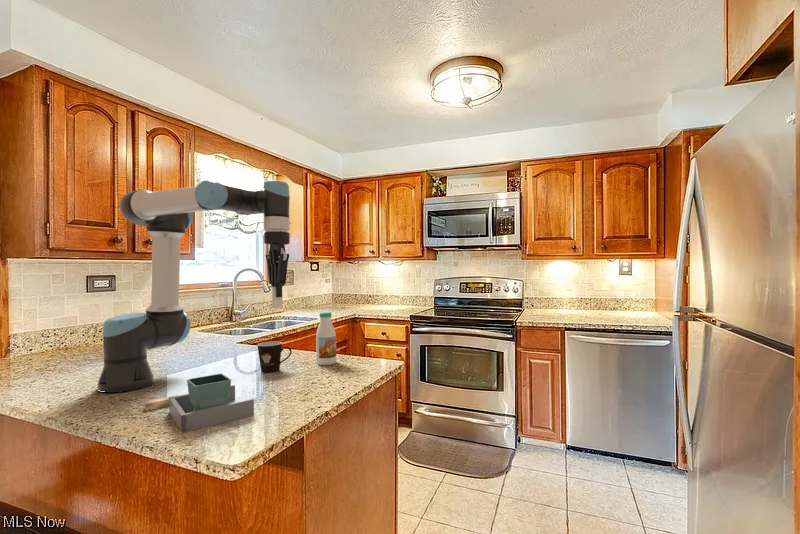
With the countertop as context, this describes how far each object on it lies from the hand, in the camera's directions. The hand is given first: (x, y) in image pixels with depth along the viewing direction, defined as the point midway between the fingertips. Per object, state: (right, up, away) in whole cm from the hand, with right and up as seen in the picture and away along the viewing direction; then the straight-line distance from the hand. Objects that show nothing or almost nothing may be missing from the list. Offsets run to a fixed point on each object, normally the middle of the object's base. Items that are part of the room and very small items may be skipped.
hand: (277, 307), depth 122 cm
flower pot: (-12, -26, -19) cm, 34 cm away
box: (-11, -26, -19) cm, 34 cm away
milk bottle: (+9, -26, +33) cm, 42 cm away
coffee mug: (-8, -26, +22) cm, 35 cm away
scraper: (-26, -26, -10) cm, 38 cm away
